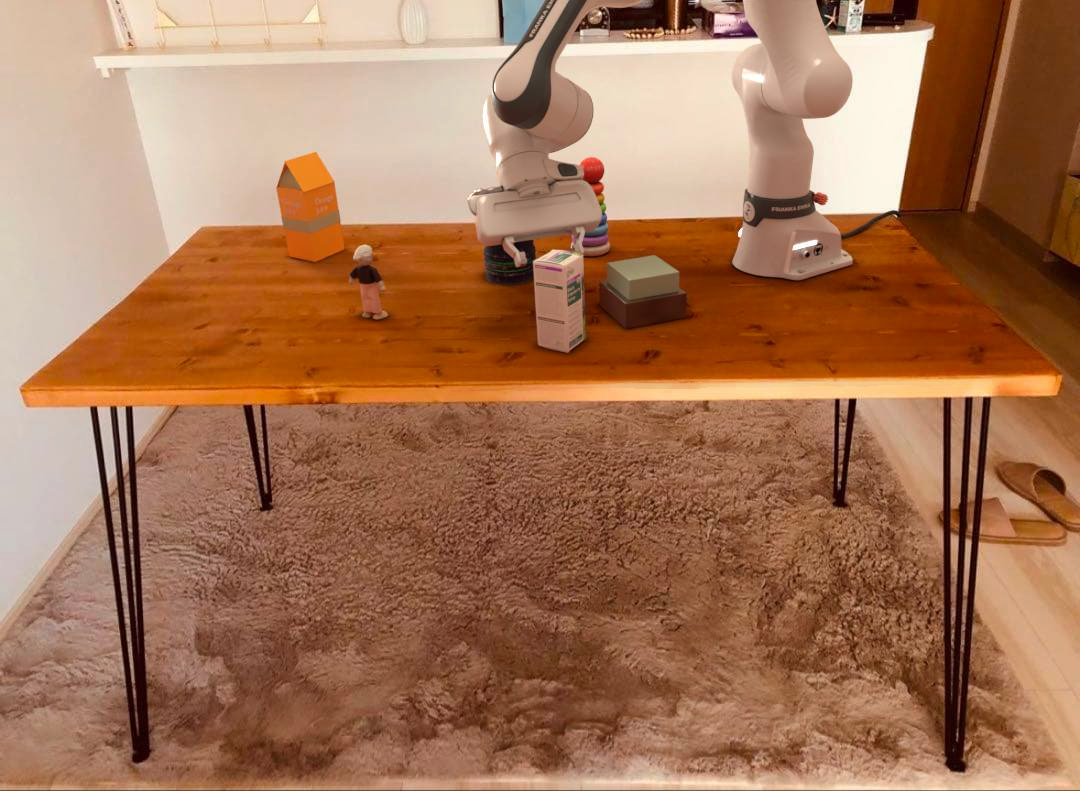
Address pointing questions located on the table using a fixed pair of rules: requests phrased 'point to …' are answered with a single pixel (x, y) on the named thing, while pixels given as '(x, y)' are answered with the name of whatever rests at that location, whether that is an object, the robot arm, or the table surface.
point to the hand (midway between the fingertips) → (550, 260)
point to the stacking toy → (598, 238)
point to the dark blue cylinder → (509, 263)
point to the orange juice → (309, 209)
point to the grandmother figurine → (368, 283)
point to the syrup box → (560, 300)
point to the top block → (642, 277)
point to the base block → (642, 307)
